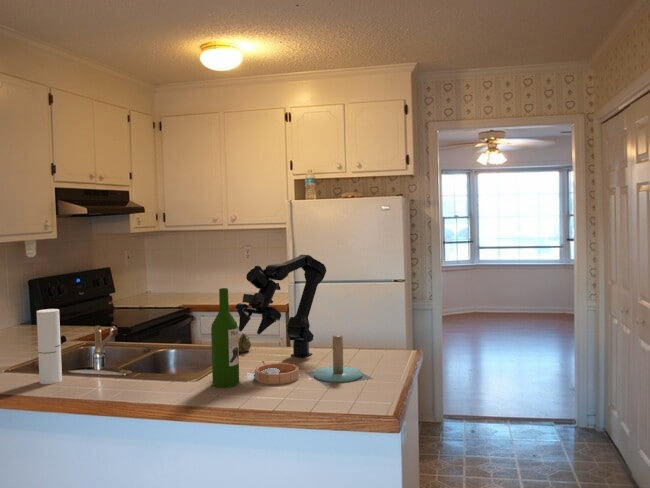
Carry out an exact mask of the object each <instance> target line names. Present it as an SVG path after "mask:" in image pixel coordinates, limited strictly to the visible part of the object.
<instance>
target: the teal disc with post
mask: <svg viewBox="0 0 650 488" xmlns="http://www.w3.org/2000/svg"><path fill="white" fill-rule="evenodd" d="M363 374H364V372H363V371H362V370H361V369H359V368H357V367H351V366H350V367H349V366H344V336H343V335H341V334H334V335H332V366H327V367H322V368H319V369H316V370H315V372H314V377H315V378H316V379H318V380H321V381H325V382H337V383H338V382H348V383H351V382H350V381H355V380H358V379H360V378H361V377H362V376H363ZM316 379H315V380H316ZM355 382H356V381H355Z"/></svg>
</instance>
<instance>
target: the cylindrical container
mask: <svg viewBox="0 0 650 488" xmlns="http://www.w3.org/2000/svg"><path fill="white" fill-rule="evenodd" d="M60 318H61V316H60V308H59V309H58V308H47V309H39V310H36V327H37V328H36V330H37V349H38V351H37V352H38V372H39V373H38V374H39V376H38V377H39V384H41V385H51V384H52V385H53V384H58V383H60V382H62V380H63V372H62V370H63V369H62V348H61V347H62V346H61V325H60V324H61V323H60Z"/></svg>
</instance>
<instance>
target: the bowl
mask: <svg viewBox="0 0 650 488" xmlns="http://www.w3.org/2000/svg"><path fill="white" fill-rule="evenodd" d="M268 368H277V369H279V370H280V372H279V374H268V373H262V372H261V371H263V370H265V369H268ZM255 378H256V380H257V382H258V383H260V384H265V385H266V384H267V385H283V384H289V383H293V382H295V381H298V380H299V378H300V367H299V366H298V365H297V364H293V363H287V362H273V363H265V364H262V365H259V366H256V367H255V368H254V379H255ZM256 380H255V381H256Z"/></svg>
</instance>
